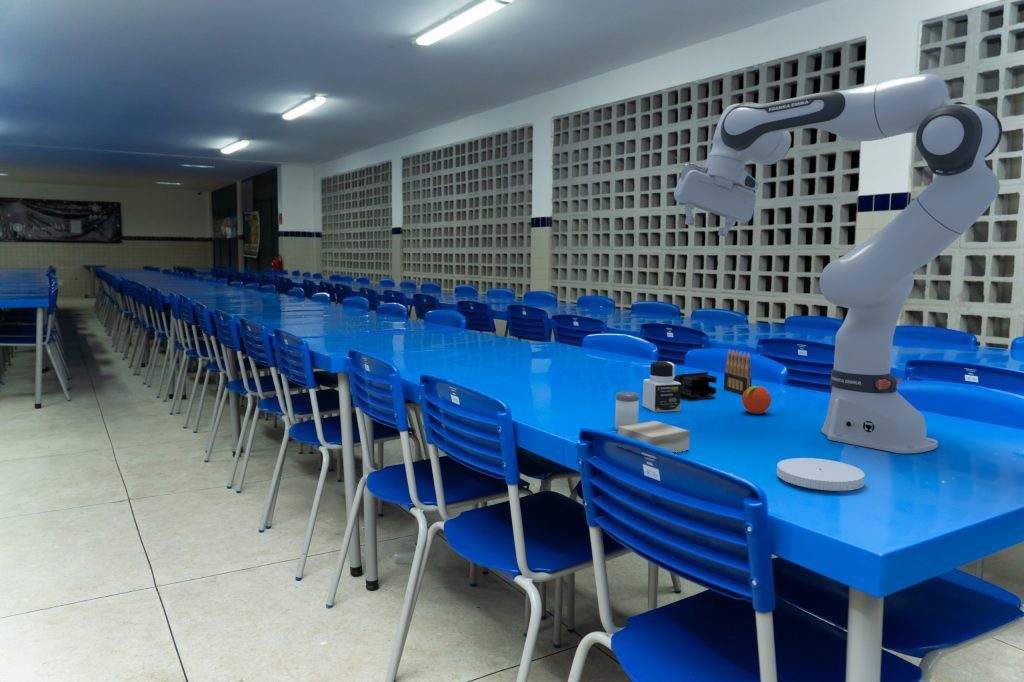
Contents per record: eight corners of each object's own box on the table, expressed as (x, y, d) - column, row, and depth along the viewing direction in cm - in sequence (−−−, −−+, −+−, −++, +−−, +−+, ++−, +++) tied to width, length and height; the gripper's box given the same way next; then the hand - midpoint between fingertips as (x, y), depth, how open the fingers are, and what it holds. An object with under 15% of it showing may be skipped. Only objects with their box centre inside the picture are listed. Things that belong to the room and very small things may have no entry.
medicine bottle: (654, 412, 180) (656, 364, 178) (642, 406, 187) (643, 360, 185) (680, 410, 182) (682, 363, 180) (667, 405, 189) (668, 359, 187)
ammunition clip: (723, 389, 211) (724, 348, 210) (728, 389, 212) (730, 348, 210) (745, 396, 201) (747, 353, 200) (751, 396, 202) (753, 353, 200)
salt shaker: (642, 430, 162) (643, 394, 161) (625, 432, 159) (626, 397, 158) (627, 425, 166) (628, 391, 165) (610, 428, 163) (611, 393, 162)
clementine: (758, 418, 174) (759, 389, 173) (732, 413, 179) (734, 385, 179) (776, 414, 179) (777, 385, 178) (751, 409, 184) (752, 381, 184)
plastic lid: (767, 486, 124) (768, 472, 124) (787, 466, 136) (787, 453, 135) (856, 502, 116) (857, 487, 116) (869, 480, 128) (870, 466, 128)
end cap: (699, 394, 204) (700, 370, 203) (717, 398, 198) (718, 374, 197) (671, 397, 200) (672, 372, 199) (688, 401, 193) (689, 376, 193)
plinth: (688, 450, 145) (689, 430, 145) (651, 457, 140) (652, 437, 139) (654, 439, 154) (654, 420, 153) (617, 445, 148) (618, 426, 148)
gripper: (692, 158, 166) (675, 217, 166) (765, 185, 172) (748, 242, 173) (678, 161, 172) (661, 217, 172) (749, 187, 178) (732, 242, 179)
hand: (705, 230), depth 173 cm, fingers open, 8 cm apart
